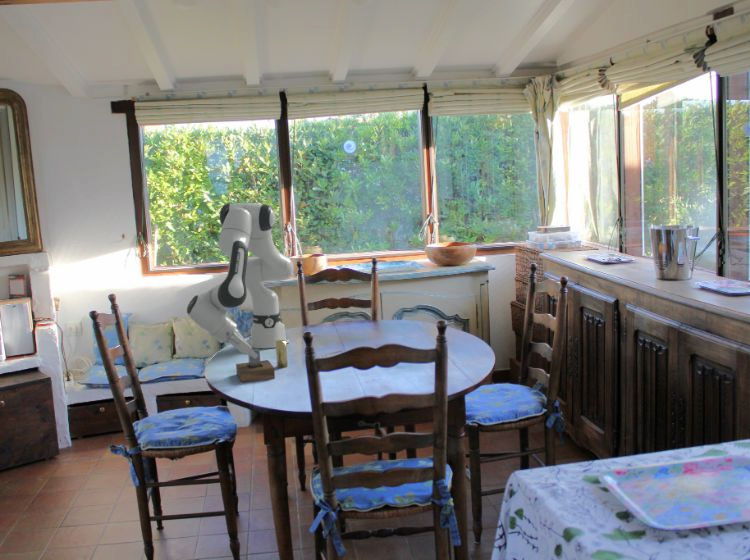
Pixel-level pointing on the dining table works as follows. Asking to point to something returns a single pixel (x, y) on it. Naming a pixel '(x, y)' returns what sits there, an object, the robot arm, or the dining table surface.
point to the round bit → (281, 353)
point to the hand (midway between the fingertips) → (254, 354)
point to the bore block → (255, 372)
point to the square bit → (254, 362)
